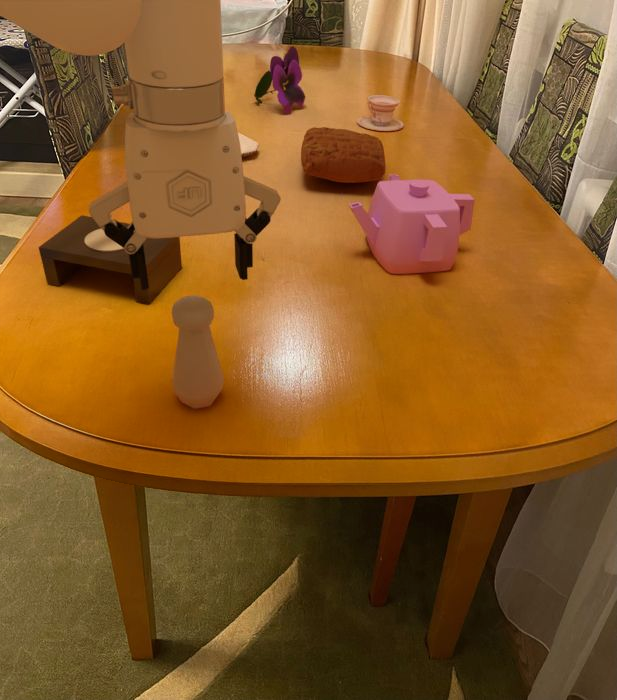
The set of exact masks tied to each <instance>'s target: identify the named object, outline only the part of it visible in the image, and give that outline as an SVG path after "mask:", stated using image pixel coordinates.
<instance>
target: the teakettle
mask: <svg viewBox="0 0 617 700" xmlns="http://www.w3.org/2000/svg"><path fill="white" fill-rule="evenodd" d="M387 177H388V179H387V180H380V181H379V182H378V183H377V185H376V187H375V190H374V192H373V196H372V198H371V201H370V205H369V208H368V212H367V211H366V209H365V208H364V207H363V204H362V202H360V201H357V202H353V203H349V204H348V207H349V209H350V211H351V212H352V213H353V215H354V217H355V219H356V220H357V222H358V224H359V225H360V227H361V229H362V230H363V232H364V233H365V235H366V240H367V244H368V246H369V249H370V251H371V254H372V255H373V257H374V258H375V259H376V261H377V262H378V263H379V265H380V266H381V267H382V268H383V269H384V271H386V272H387V273H389V274H391V275H408V274H411V275H412V274H429V273H439V272H446V271H450V270H451V268H452V267H453V266H454V263H455V261H456V259H457V256H458V252H459V251H458V250H459V243H460V236H461V235H464V234H465V233H467V232H469V231H470V230H472V224H473V223H472V222H473V215H474V208H475V201H476V200H475V198H474V197H473V196H472V195H471V194H470V193H449V192H448V191H447V190H446V189H445V188H444V187H443V186H441V185H440V184H439V183H438V182H436V181H434V180H432V179H419V178H416V179H415V178H414V179H400V177H401V176H400V175H398V174H397V173H395V174H388V176H387Z"/></svg>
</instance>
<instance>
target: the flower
mask: <svg viewBox="0 0 617 700" xmlns="http://www.w3.org/2000/svg"><path fill="white" fill-rule="evenodd" d="M302 78H303V72H302V69H301V65H300V57H299V53H298V50H297V48H296V47H295V46H294V45H293V46H290V47H289V49H288V50H287V52H286V54H285V55H284V56H283V59H282V58H281V57H280V56H279V55H273V56H272V57H271V58H270V62H269V70H268V71H266V72H265V73H264V74H263V75H262V76H261V78H260V79H259V82H257V85H256V87H255V90H254V94H253V96H254V98H255V100H256V101H257V102H258V103H259V104H263V100H261V98H263V97H264V96H266V95H267V94H269V93H270V94H274V92H277V94H276V97H277V101H278V103H279V104H281V106H283V113H284V115H291V114H292V109H293V105H294V104H297V106H299V107H300V108H301V109H303V107H304V103H305V100H306V94H305V91H304V90H303V89H302V87H301V86H300V85H299V83H300V82H301V81H302ZM271 86H272V88H273V90H270V87H271ZM269 90H270V91H269Z"/></svg>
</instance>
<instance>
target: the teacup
mask: <svg viewBox="0 0 617 700" xmlns="http://www.w3.org/2000/svg"><path fill="white" fill-rule="evenodd" d="M366 99H367V102H366V104H367V109H368V111H369V113H370V114H371V115H368V114H367V115H363V116H360V117H359V118H357V120H356V122H357V125H359V126H360V127H362V128H365V129H368V130H371V131H379V132H393V131H395V132H396V131H398V130H402V129H404V126H405V123H404V122H403V121H402V120H400V119H398V118H395V117H393V115H394V112H395V110H396V108H397V107H398V106H399V105H400V103H401V99H399V98H396V97H394V96H390V95H385V94H375V95H374V94H373V95H369V96H368V97H367V98H366Z"/></svg>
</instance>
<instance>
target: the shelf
mask: <svg viewBox="0 0 617 700" xmlns="http://www.w3.org/2000/svg"><path fill="white" fill-rule="evenodd" d="M118 222H119V223H121V224H122V225H124V226H125V227H126V228H127V227H128V226H129V225H130V223H127V222H123V221H118ZM143 246H144V253H145V260H146V268H147V275H148V283H149V288H147V290H142V288H141V282H140V278H136V279H133V278H132V280H133V287H134V295H135V302H136V303H138V304H142V305H143V304H144V305H148V306H150V305H151V304H152V303H153V301H154V300H155V299H157V298H158V296H159V295H160V294H161V292H162V291H163V290H164V289H165V288H166V287H167V285H168V284H169V283H170V282H171V281H172V280H173V279H174V278H175V277H176V276H177V275H178V273H179V272H180V271H181V270H182V268H183V262H182V252H181V250H182V249H181V237H171V238H147V239H146V240H145V242H144V243H143ZM38 251H39V256H40V259H41V263H42V264H41V265H42V269H43V272H44V276H45V280H46V284H47V285H49V286H54V287H59V288H60V287H61V286H62V285H64V284H65V283H66V282H67V281H68V280H69V279H70V278H72V277H73V276H74V275H75V274H76V273H78V271H79V270H81V269H82V268H83V267H84V266H87V267H90V268H91V267H93V268H97V269H103V270H107V271H112V272H117V273H118V272H119V273H123V274H128V275H132V271H131V265H130V259H129V254H128V253H127V252H126V251H125V249H124V248H123V247H122V246H120V245H119V244H117V243H116V242H114V241H113V240H111V239H110V238H108V237H107V236H106V235H105V232H104V231H103V230H102V228H100V227H99V225H98V224H97V223H96V222H95V220H94V219H93V218H92V217H91V216H90V215H89V216H88V215H80V216H78V217H77V218H76V219H74V220H73V221H72V222H71V223H69V224H68V225H66V226H65V227H64V228H62V229H61V230H60V231H58V232H57V233H55V234H54V235H53V236H51V237H50V238H49V239H47V240H46V241H44V243H42V244H41V245H40V246H38Z"/></svg>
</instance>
